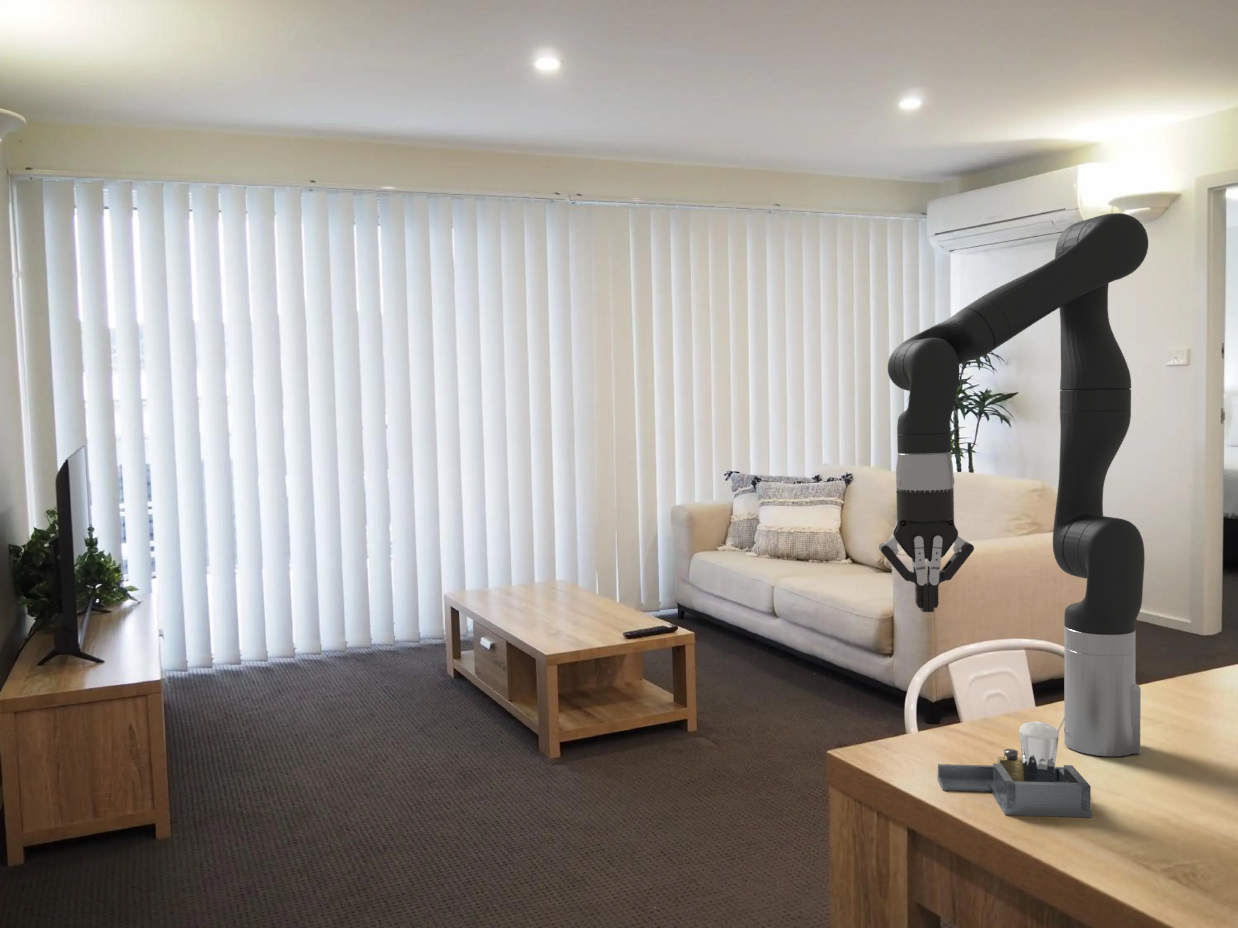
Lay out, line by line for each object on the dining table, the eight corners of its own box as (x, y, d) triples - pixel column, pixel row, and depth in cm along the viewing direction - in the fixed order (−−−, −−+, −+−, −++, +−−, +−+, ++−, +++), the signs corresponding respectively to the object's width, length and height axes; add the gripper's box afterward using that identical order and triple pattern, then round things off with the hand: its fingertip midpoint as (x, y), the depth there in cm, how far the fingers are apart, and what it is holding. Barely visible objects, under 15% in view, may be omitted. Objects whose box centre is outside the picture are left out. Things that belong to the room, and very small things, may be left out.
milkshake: (1069, 803, 127) (1070, 722, 126) (1023, 801, 128) (1023, 720, 127) (1060, 789, 131) (1060, 711, 131) (1016, 787, 132) (1016, 710, 132)
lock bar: (1045, 778, 134) (1045, 749, 134) (1049, 782, 133) (1049, 753, 132) (997, 777, 135) (997, 748, 135) (1000, 781, 133) (1000, 752, 133)
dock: (1064, 782, 136) (1064, 754, 135) (1092, 817, 124) (1092, 785, 124) (937, 779, 138) (937, 751, 138) (953, 813, 126) (953, 782, 126)
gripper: (968, 482, 145) (970, 605, 146) (871, 484, 147) (874, 606, 148) (981, 486, 138) (983, 616, 139) (879, 489, 139) (881, 617, 140)
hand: (926, 610), depth 143 cm, fingers closed
